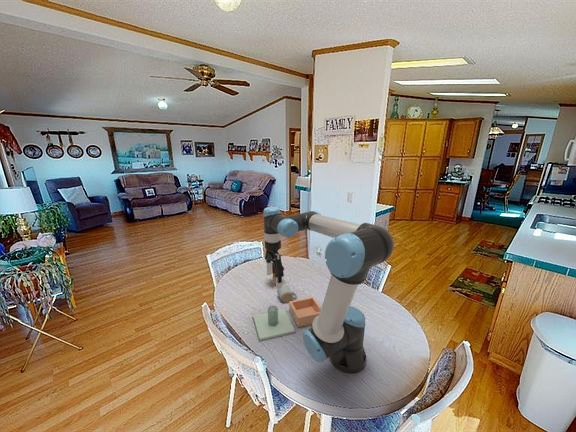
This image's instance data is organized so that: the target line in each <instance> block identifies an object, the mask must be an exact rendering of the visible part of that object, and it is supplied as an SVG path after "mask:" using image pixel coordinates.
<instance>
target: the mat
mask: <svg viewBox="0 0 576 432" xmlns="http://www.w3.org/2000/svg"><path fill="white" fill-rule="evenodd" d="M285 311H286V309H285ZM286 312H287V311H286ZM251 318H252V321H253V322H252V323H253V324H254V329H255V332H256V333H255V334H256V335H257V336H256V337H257V339H258V343H261V342H264V341H269V340H273V339H277V338H281V337H286V336H291V335H293V334H297V332H296V329H295V328H294V330H295V333H291V334H286V335H282V336H278V337H274V338H270V339H266V340H262V341H260V340H259V336H258V332H257V329H256V325H255V322H254V318H253V316H252V317H251Z"/></svg>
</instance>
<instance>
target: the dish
mask: <svg viewBox="0 0 576 432" xmlns="http://www.w3.org/2000/svg"><path fill="white" fill-rule="evenodd" d="M288 308H289V310H288V311H289V313H290V314H291V317H292V319H293V320H294V322H295V325H296V327H297V328H298V329H299V328H303V327H308V326H312V323H313V320H314V319H315V318H316V317H317V316H318V315H320V311H321V308H322V306H321V305H320V303H319V302H318V301H317V299H316V298H315V297H314V296H310V297H305V298H304V297H303V298H299V299H293V300H291V301H289V302H288Z"/></svg>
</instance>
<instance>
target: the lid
mask: <svg viewBox="0 0 576 432" xmlns="http://www.w3.org/2000/svg"><path fill="white" fill-rule="evenodd" d="M285 310H286V309H285V308H281V309H279V308H278V307H277V306H276V305H270V306H268V307H267V311H266V312H263V313H258V314H253V315H252V317H253V318H254V322H255V325H256V329H257V332H258V336H259V340H260V341H261V342H263V341H262V340H265V341H267V340H266V339H270V338H274V337H278V336H282V335H286V334H290V335H292V334H291V333H294V334H296V333H295V331H296V329H295V328H294V325H293V323H292V321H291V319H290V317H289V315H288V313H287V311H285ZM253 318H252V319H253ZM254 322H253V323H254ZM256 329H255V330H256ZM294 329H295V330H294ZM258 336H257V337H258ZM286 336H287V335H286ZM282 337H283V336H282ZM278 338H279V337H278ZM274 339H275V338H274ZM259 340H258V341H259ZM270 340H271V339H270Z"/></svg>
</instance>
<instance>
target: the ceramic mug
mask: <svg viewBox="0 0 576 432" xmlns="http://www.w3.org/2000/svg"><path fill="white" fill-rule="evenodd" d="M276 293H277V295H278V297H279V299H280V301H281V302H283V303H284V304H285V303H289V301H293V300H297V298H298V296H297V294H296V293H295V292H294V291H291V288H290V286H289V285H288V284H282V288H279V289H276Z"/></svg>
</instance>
